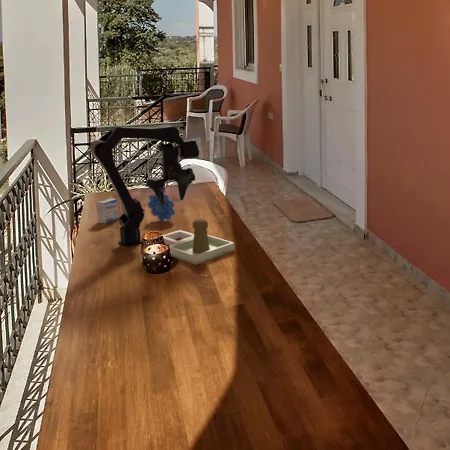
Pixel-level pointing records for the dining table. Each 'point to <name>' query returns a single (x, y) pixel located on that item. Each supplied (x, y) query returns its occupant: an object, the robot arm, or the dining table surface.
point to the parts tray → (216, 250)
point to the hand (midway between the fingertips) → (172, 202)
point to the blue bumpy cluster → (161, 207)
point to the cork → (200, 236)
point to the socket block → (177, 237)
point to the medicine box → (107, 210)
